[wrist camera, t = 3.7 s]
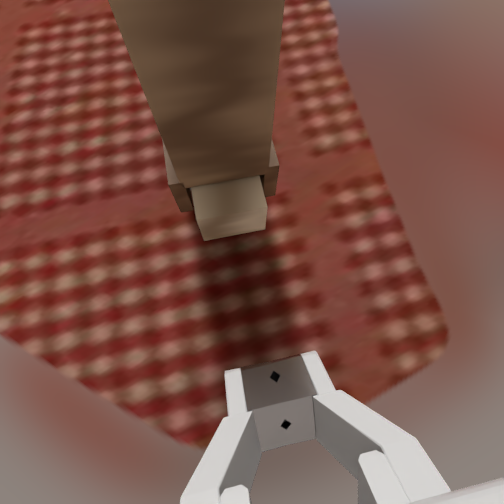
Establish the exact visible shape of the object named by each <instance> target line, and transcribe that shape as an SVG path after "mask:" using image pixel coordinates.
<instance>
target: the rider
mask: <svg viewBox="0 0 504 504" xmlns="http://www.w3.org/2000/svg"><path fill="white" fill-rule="evenodd" d="M108 1H109V4H110V6H111V9H112V11H113V14H114V17H115V19H116V22H117V24H118V27H119V29H120V32H121V34H122V37H123V40H124V42H125V45H126V47H127V50H128V52H129V55H130V58H131V60H132V63H133V65H134V68H135V70H136V73H137V75H138V78H139V81H140V83H141V86H142V88H143V91H144V93H145V96H146V98H147V101H148V104H149V106H150V109H151V111H152V114H153V116H154V119H155V122H156V124H157V127H158V129H159V132H160V134H161V137H162V141H163V148H164V156H165V163H166V170H167V178H168V185H169V187H170V189H171V192H172V194H173V196H174V198H175V200H176V203H177V205H178V207H179V209H180V211H181V212H186V211H192V210H193V205H192V198H191V192H190V187H196V186H201V185H207V184H212V183H218V182H224V181H229V180H235V179H240V178H246V177H252V176H257V175H259V176H260V180H261V184H262V188H263V192H264V195H265V197H268V196H273V195H275V192H276V185H277V178H278V171H279V162H278V159H277V155H276V152H275V149H274V145H273V142H272V129H273V118H274V108H275V97H276V86H277V76H278V65H279V54H280V44H281V33H282V23H283V12H284V1H285V0H108Z"/></svg>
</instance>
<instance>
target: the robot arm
mask: <svg viewBox="0 0 504 504" xmlns="http://www.w3.org/2000/svg"><path fill="white" fill-rule="evenodd" d="M224 376H225V387H226V398H227V409H228V417H224V418H223V419H222V421H221V423H220V425H219V427H218V429H217V431H216V432H215V434H214V436H213V438H212V440H211V442H210V444H209V446H208V447H207V449H206V451H205V453H204V455H203V457H202V459H201V461H200V462H199V464H198V466H197V468H196V470H195V472H194V474H193V476H192V477H191V479H190V481H189V483H188V485H187V487H186V489H185V491H184V492H183V494H182V496H181V498H180V504H252V503H251V499H250V495H249V494H250V491H251V488H252V484H253V481H254V477H255V475H256V471H257V468H258V465H259V462H260V459H261V455H262V453H261V452H265V451H268V450H272V449H275V448H279V447H282V446H286V445H289V444H294V443H298V442H303V441H308V440H312V439H317V441H318V442H319V443H320V444H321V445H322V446H324V448H325V449H326V450H327V451H328V452H329V453H330V454H331V455H332V456H333V457H334V458H335V459H337V460H338V461H339V462H340V463H341V464H342V465H343V466H344V467H345V468H346V469H347V470H348V471H349V472H350V473H351V474H352V475H353V476H354V477H355V478H356V479H357V480H358V504H504V477H502V478H499V479H495V480H491V481H488V482H484V483H481V484H477V485H473V486H470V487H466V488H462V489H459V490H455V491H451V490H450V488H449V487H448V485H447V484H446V482H445V481H444V479H443V478H442V476H441V475H440V474H439V472H438V470H437V469H436V467H435V466H434V464H433V463H432V462H431V460H430V458H429V457H428V455H427V454H426V452H425V451H424V450H423V448H422V447H421V445H420V443H419V442H418V441H417V439H416V438H415V437H413V436H412V435H410V434H408V433H407V432H405V431H404V430H402V429H401V428H399V427H398V426H396V425H394V424H393V423H391V422H390V421H388V420H387V419H385V418H384V417H382V416H381V415H379V414H378V413H376V412H374V411H373V410H371V409H370V408H368V407H367V406H365V405H364V404H362V403H361V402H359V401H357V400H356V399H354V398H353V397H351V396H350V395H348V394H347V393H345V392H343V391H342V390H337V391H336V390H335V388H334V386H333V384H332V382H331V380H330V378H329V376H328V373H327V371H326V369H325V367H324V365H323V363H322V361H321V359H320V357H319V355H318V353H317V352H316V351H311V352H307V353H303V354H300V355H299V354H298V355H294V356H290V357H286V358H282V359H277V360H273V361H270V362H265V363H260V364H255V365H250V366H245V367H241V368H237V369H232V370H227V371H225V375H224Z"/></svg>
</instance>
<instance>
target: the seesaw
mask: <svg viewBox="0 0 504 504" xmlns="http://www.w3.org/2000/svg"><path fill="white" fill-rule="evenodd" d="M190 190H191V191H192V197H193V203H194V209H195V215H196V220H197V223H198V226H199V229H200V231H201V234H202V237H203V239H204V241H207V240H212V239H217V238H222V237H228V236H233V235H238V234H243V233H248V232H254V231H259V230H264V229H265V225H266V216H267V203H266V199H265V195H264V192H263V188H262V184H261V180H260V176H259V175H257V176H252V177H246V178H240V179H235V180H229V181H224V182H218V183H212V184H207V185H201V186H196V187H190Z"/></svg>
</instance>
